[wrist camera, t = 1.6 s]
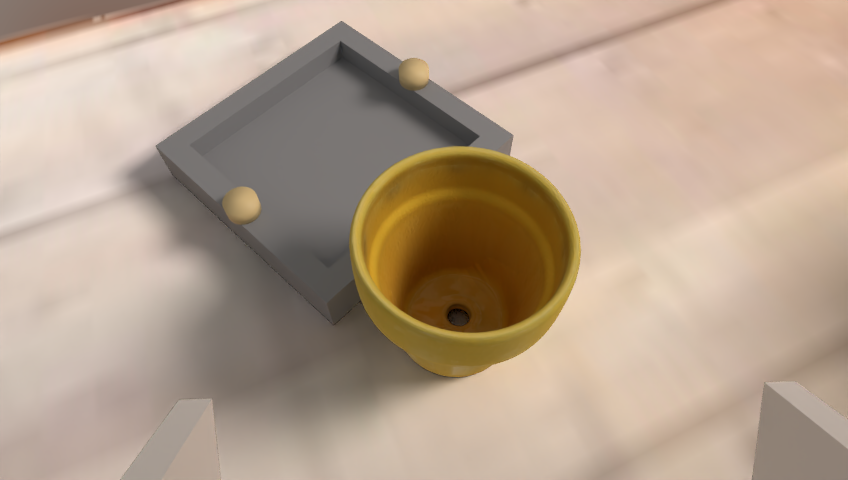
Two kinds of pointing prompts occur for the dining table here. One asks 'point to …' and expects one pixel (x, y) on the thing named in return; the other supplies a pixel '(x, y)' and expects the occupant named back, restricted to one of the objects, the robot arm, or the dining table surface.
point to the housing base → (318, 153)
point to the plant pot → (463, 256)
